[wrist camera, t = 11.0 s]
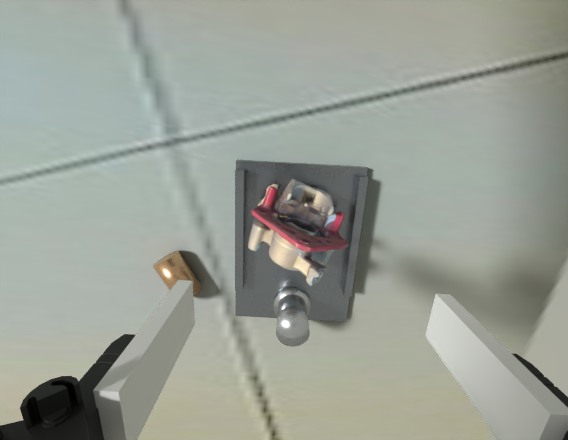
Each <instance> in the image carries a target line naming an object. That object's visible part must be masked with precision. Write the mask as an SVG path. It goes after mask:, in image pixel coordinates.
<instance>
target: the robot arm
mask: <svg viewBox="0 0 568 440" xmlns="http://www.w3.org/2000/svg"><path fill="white" fill-rule="evenodd" d="M194 324H195V321H194V302H193V282H192V281H188V280H178V281H177V282H176V283H175V285H174V286H173V287H172V289H171V290H170V291H169V293H168V294H167V295H166V296H165V298H164V299H163V300H162V302H161V303H160V304H159V306H158V307H157V308H156V309H155V311H154V312H153V313H152V315H151V316H150V317H149V319H148V320H147V321H146V322H145V324H144V325H143V326H142V328H141V329H140V330H139V332H138V333H137V334H136V335H129V334H124V335H123V336H121V337H120V338H118V339H117V340H115V341H114V342H112V343H111V345H110V346H109V347H108V348H107V349H106V350H105V352H104V353H103V355H101V356H100V357H99V359H98V360H97V361H96V363H95V364H93V366H92V367H91V368H90V369H89V370H88V372H87V373H86V374H85V375H84V376H83V377H82V379H81V380H80V381H79V382H78V380H77V378H74V377H72V376H61V377H58V378H54V379H51V380H49V381H47V382H45V383H43V384H41V385H39V386H38V387H37V388H35V389H34V390H32V391H31V392H30V393H29V394H28V395H27V396H26V398H25V399H24V400H23V402H22V404H21V407H20V410H21V413H22V416H23V419H24V420H23V421H19V422H14V423H10V424H6V425H1V426H0V440H137V439H138V437H139V435H140V433H141V431H142V429H143V427H144V425H145V423H146V421H147V419H148V417H149V415H150V413H151V411H152V409H153V407H154V405H155V403H156V401H157V399H158V397H159V395H160V393H161V391H162V389H163V387H164V385H165V383H166V381H167V379H168V377H169V375H170V373H171V370H172V368H173V366H174V364H175V362H176V360H177V358H178V356H179V354H180V352H181V350H182V348H183V346H184V344H185V342H186V340H187V338H188V336H189V334H190V332H191V330H192V328H193V326H194ZM426 338H427V339H428V341H429V342H430V343H431V345H432V346H433V348H434V349H435V351H436V352H437V354H438V355H439V356H440V358H441V359H442V361H443V362H444V364H445V365H446V366H447V368H448V369H449V371H450V372H451V374H452V375H453V376H454V378H455V379H456V381H457V382H458V384H459V385H460V387H461V388H462V389H463V391H464V392H465V394H466V395H467V397H468V398H469V399H470V401H471V402H472V404H473V405H474V407H475V408H476V410H477V411H478V412H479V414H480V415H481V417H482V418H483V420H484V421H485V422H486V424H487V425H488V427H489V428H490V430H491V431H492V433H493V434H494V435H495V437H496V438H497V440H568V397H567V396H566V395H565V394H564V393H562V392H561V391H560V390H559V389H558V388H557V387H554V385H553V383H552V382H551V381H549V380H548V379H547V378H546V377H544V375H543V374H542V373H541V372H540V371H539V370H538V369H537V368H535V367H534V366H533V365H532V364H531V363H529V362H528V361H526V360H525V359H523V358H522V357H520V356H519V355H517V354H511V353H510V352H509V351H508V350H507V349H506V348H505V347H504V346H503V345H502V344H501V343H500V342H499V341H498V340H497V339H496V338H495V337H494V336H493V335H492V334H491V333H490V332H489V331H488V330H487V329H485V328H484V327H483V326H482V325H481V324H480V323H479V322H478V321H477V320H476V319H475V318H474V317H473V316H472V315H471V314H470V313H469V312H468V311H467V310H466V309H465V308H464V307H463V306H462V305H461V304H459V303H458V302H457V301H456V300H455V299H454V298H453V297H452V296H451V295H450V294H436V295H435V299H434V303H433V307H432V311H431V316H430V320H429V324H428V328H427V332H426Z"/></svg>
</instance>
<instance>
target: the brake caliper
mask: <svg viewBox="0 0 568 440" xmlns="http://www.w3.org/2000/svg"><path fill="white" fill-rule="evenodd" d="M333 212H334V203H333V198H332V194H331V193H329V192H327V191H324V190H322V189H318V188H314V187H311V186H309V185H306V184H304V183H302V182H300V181H297V180H295V179H292V180H291V181H290V183H289V184H288V186H287V187H286V189H285V190H284V191H282V192H280V191H279V190H278V185H277V184H273V185H271V186H269V187H268V188H267V189H266V196H265V198H264V199H262V200H261V201H260V202H259V204H258V206H257V207H256V208H253V209H252V211H251V213H252V215H253V216H254V221H253V226H252V230H251V234H250V237H249V243H248V248H249V249H250V250H252V251H257V250H258V249H259V248H260V247H261V245H262V244H264V243H266V244H268V245H269V246H270V248H269V256H270V258H271V259H272V261H273V262H274V263H276V264H277V265H279V266H281V267H283V268H285V269H288V270H292V271H300V272H301V273H302V274H304V275H305V276H306V277H307V278H306V281H307V283H308V284H309V285H310V286H312V285H313V284H315V283H318V282H319V281H320V279H321V278H322V277H323V275H324V274H325V272H326V271H327V267H326V266H324V265H325V264H326V263H327V262H328V260H329V258H330V256H331V254H332V253H333V252H334V250H335V249H343V248H346V247H348V242H347V241H345V239H344V238H342V237H341V236H340V234H339V229H340V227H341V224H342V222H343V220H344V218H345V213H344V212H343V211H340V212H336V213H333ZM311 258H314V261H313V260H312V259H311Z"/></svg>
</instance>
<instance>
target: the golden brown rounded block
mask: <svg viewBox="0 0 568 440" xmlns="http://www.w3.org/2000/svg"><path fill="white" fill-rule="evenodd" d="M153 268H154V269H155V270H156V272H157V273H158V275H159V276H160V277H161V279H162V280H163V282H164V283H165V285H166V286H167V287H168V289H169V290H171V289H172V287H173V286H174V285H175V283H176V282H177V281H178V280H188V281H192V282H193V297H194V296H195V295H196V294H197V293H198V292H199V291H200V290H201V288H202V286H201V285H200V283H199V282H198V280H197V279H196V277H195V276H194V274H193V273H192V271H191V270H190V268H189V267H188V265H187V264H186V262H185V261H184V259H183V258H182V256H181V255H180V253H179V252H178V251H175V252H173V253H171V254H169V255H167V256H165V257H163V258H162V259H160V260H159V261H158V262H156V263H155V264H154V265H153Z"/></svg>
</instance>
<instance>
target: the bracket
mask: <svg viewBox="0 0 568 440" xmlns="http://www.w3.org/2000/svg"><path fill="white" fill-rule="evenodd" d="M367 171H368V168H367V167H358V166H340V165H322V164H304V163H287V162H269V161H251V160H236V170H235V291H236V316H251V317H269V318H277V328H276V335H277V338H278V339H279V341H280V342H281V343H283V344H285V345H287V346H299V345H301V344H303V343H304V342H305V341H306V340H307V339H308V337H309V324H308V320H325V321H343V322H346V320H347V313H348V305H349V298H350V297H352V290H353V283H354V276H355V270H356V263H357V256H358V249H359V242H360V235H361V228H362V221H363V214H364V207H365V200H366V193H367V186H368V179H369V178H368V177H367ZM292 179H295V180H297V181H300V182H302V183H304V184H306V185H309V186H311V187H314V188H318V189H322V190H324V191H327V192H329V193H331V194H332V198H333V203H334V212H333V213H336V212H340V211H343V212H344V213H345V218H344V220H343V222H342V224H341V227H340V229H339V234H340V236H341V237H342V238H344V239H345V241H347V242H348V247H346V248H343V249H335V250H334V252H333V253H332V254H331V256H330V258H329V260H328V262H327V263H326V264H325V265H324V266H326V267H327V271H326V272H325V274H324V275H323V277H322V278H321V279H320V281H319V282H318V283H315V284H313V285H312V286H310V285H309V284H308V283H307V281H306V278H307V277H306V276H305V275H304V274H302V273H301V272H300V271H292V270H288V269H285V268H283V267H281V266H279V265H277V264H276V263H274V262H273V261H272V259H271V258H270V256H269V248H270V246H269V245H268V244H266V243H264V244H262V245H261V247H260V248H259V249H258V250H257V251H252V250H250V249H249V248H248V243H249V237H250V234H251V230H252V226H253V221H254V216H253V215H252V213H251V211H252V209H253V208H256V207H257V206H258V204H259V202H260V201H261V200H262V199H264V198H265V196H266V189H267V188H268V187H269V186H271V185H273V184H277V185H278V190H279V191H280V192H282V191H284V190H285V189H286V187H287V186H288V184H289V183H290V181H291V180H292ZM311 259H312V260H313V261H314V258H311Z"/></svg>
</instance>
